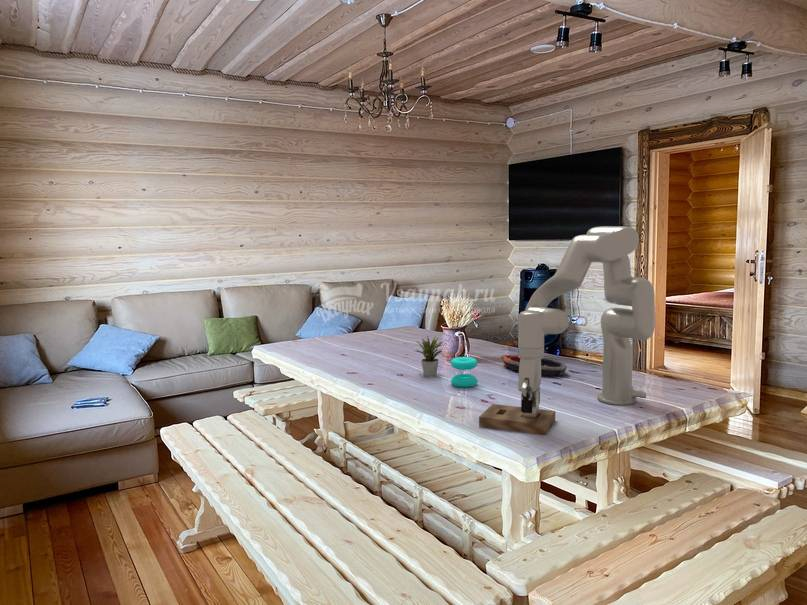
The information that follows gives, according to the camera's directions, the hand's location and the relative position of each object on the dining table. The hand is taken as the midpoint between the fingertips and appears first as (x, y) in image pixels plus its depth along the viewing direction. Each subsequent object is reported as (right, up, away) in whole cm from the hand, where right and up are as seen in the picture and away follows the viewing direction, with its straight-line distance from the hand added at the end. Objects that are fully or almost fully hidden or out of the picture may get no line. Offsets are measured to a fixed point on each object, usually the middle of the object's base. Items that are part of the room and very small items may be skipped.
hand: (530, 408), depth 181 cm
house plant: (-27, +2, +62) cm, 68 cm away
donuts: (-15, 0, +47) cm, 50 cm away
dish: (+15, +3, +67) cm, 69 cm away
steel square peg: (0, -5, +1) cm, 5 cm away
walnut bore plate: (-4, -5, +2) cm, 7 cm away
